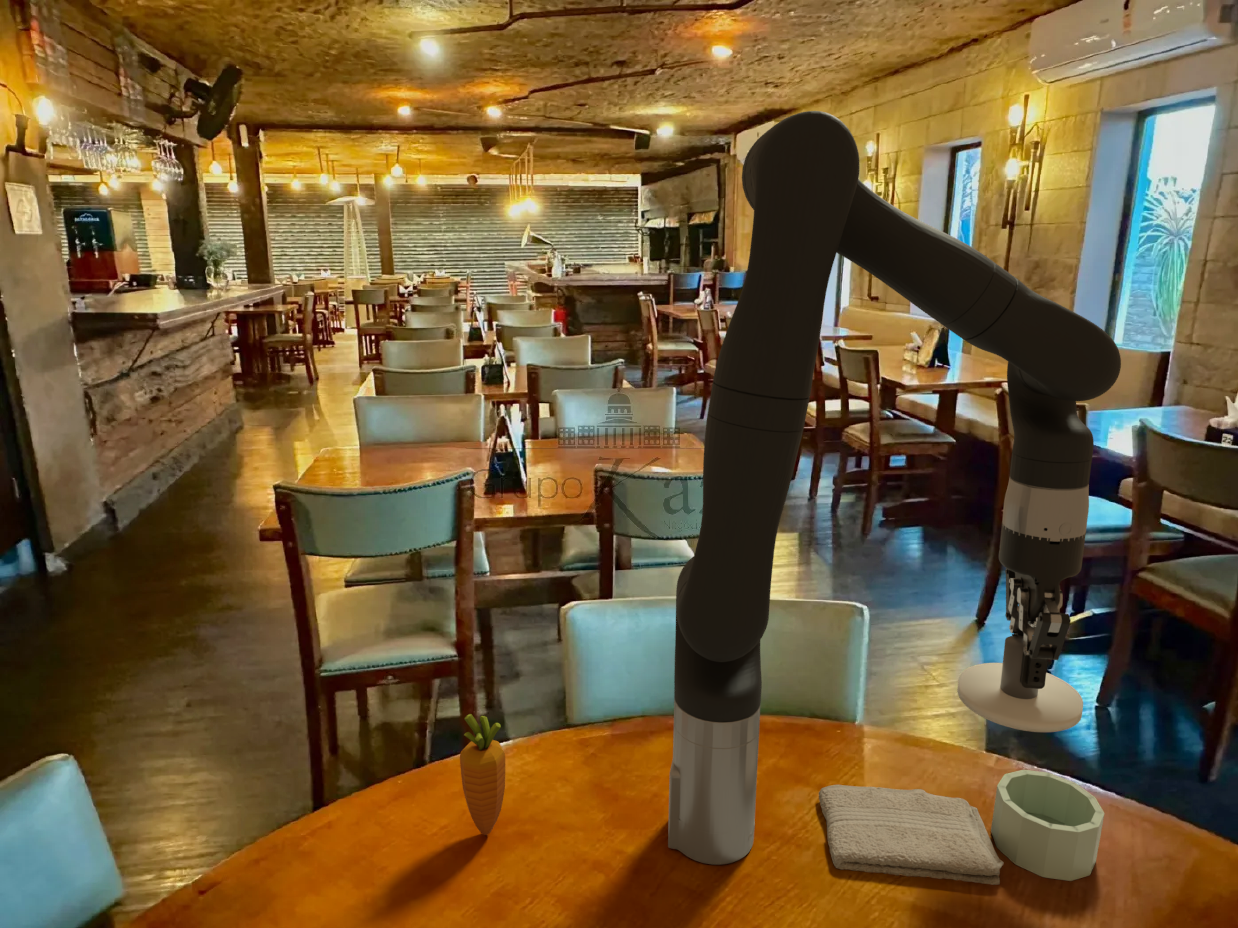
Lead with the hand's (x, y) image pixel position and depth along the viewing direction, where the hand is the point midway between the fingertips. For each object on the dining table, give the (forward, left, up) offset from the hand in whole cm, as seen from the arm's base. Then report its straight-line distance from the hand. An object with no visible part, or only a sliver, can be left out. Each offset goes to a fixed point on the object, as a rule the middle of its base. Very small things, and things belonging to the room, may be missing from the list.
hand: (1026, 675), depth 84 cm
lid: (0, 0, -3) cm, 3 cm away
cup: (+4, -1, -20) cm, 20 cm away
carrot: (-57, -12, -20) cm, 62 cm away
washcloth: (-11, -3, -21) cm, 24 cm away
